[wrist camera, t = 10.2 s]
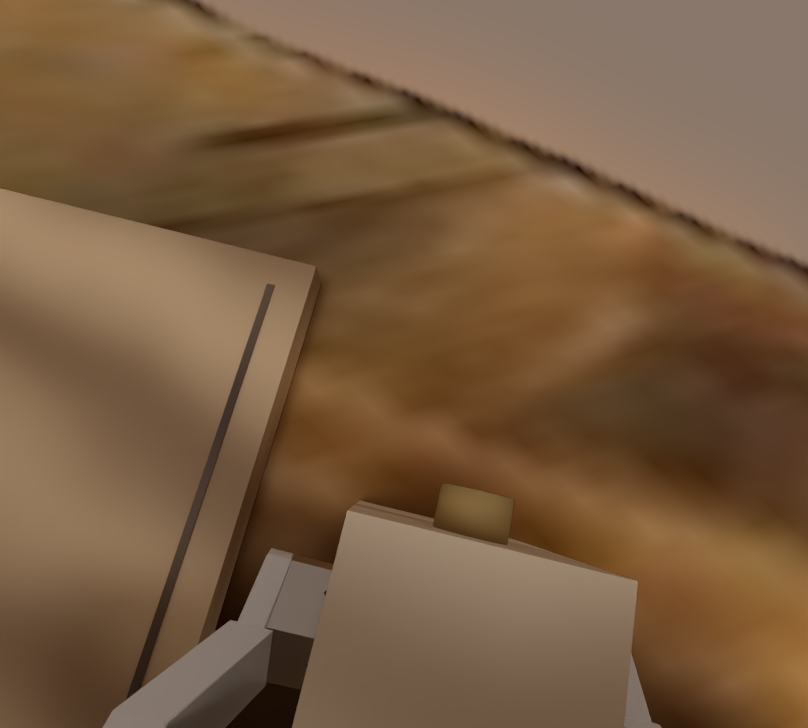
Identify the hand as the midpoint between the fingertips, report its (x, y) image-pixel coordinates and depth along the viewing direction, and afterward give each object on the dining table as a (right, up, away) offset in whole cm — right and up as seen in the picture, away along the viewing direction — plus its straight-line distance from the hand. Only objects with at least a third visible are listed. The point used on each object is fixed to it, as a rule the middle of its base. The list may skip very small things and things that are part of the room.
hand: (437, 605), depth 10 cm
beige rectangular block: (0, -2, +4) cm, 4 cm away
